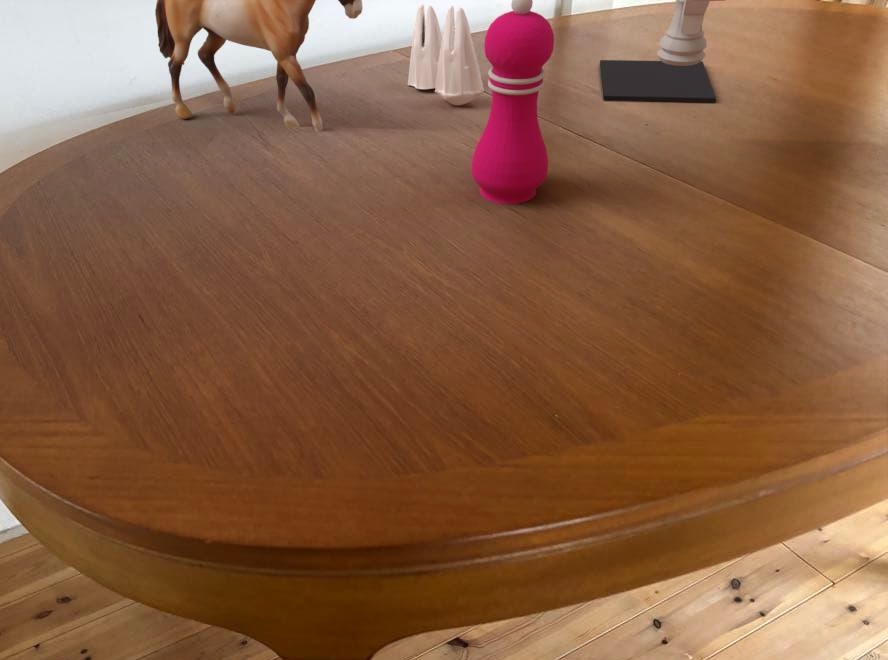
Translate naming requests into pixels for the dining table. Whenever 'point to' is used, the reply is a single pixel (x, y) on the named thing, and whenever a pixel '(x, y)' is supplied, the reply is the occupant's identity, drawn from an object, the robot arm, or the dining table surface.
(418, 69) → the shaker set
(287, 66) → the horse figurine
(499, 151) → the pepper mill
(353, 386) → the dining table surface
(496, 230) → the dining table surface
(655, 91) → the placemat
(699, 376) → the dining table surface
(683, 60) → the rook chess piece
